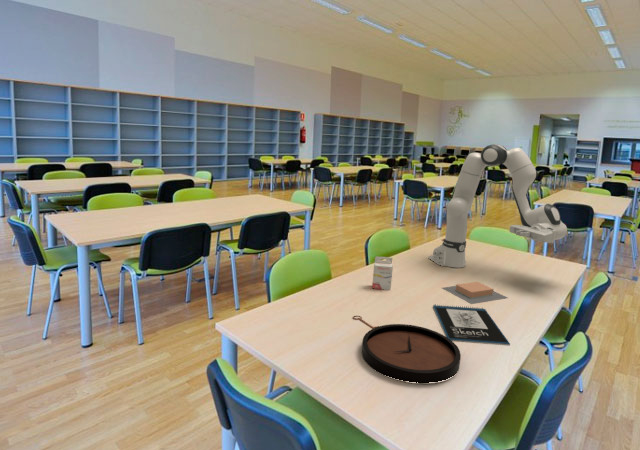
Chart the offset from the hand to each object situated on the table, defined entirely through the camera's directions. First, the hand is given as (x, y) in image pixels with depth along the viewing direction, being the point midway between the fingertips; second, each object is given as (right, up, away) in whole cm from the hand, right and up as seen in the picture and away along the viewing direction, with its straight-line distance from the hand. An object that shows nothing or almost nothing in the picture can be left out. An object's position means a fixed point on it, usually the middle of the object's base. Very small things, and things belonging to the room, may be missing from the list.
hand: (518, 233), depth 196 cm
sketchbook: (-36, -35, -35) cm, 61 cm away
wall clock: (-65, -39, -60) cm, 97 cm away
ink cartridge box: (-65, -26, 0) cm, 70 cm away
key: (-76, -34, -38) cm, 91 cm away
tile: (-16, -26, -1) cm, 30 cm away
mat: (-22, -28, -3) cm, 36 cm away
